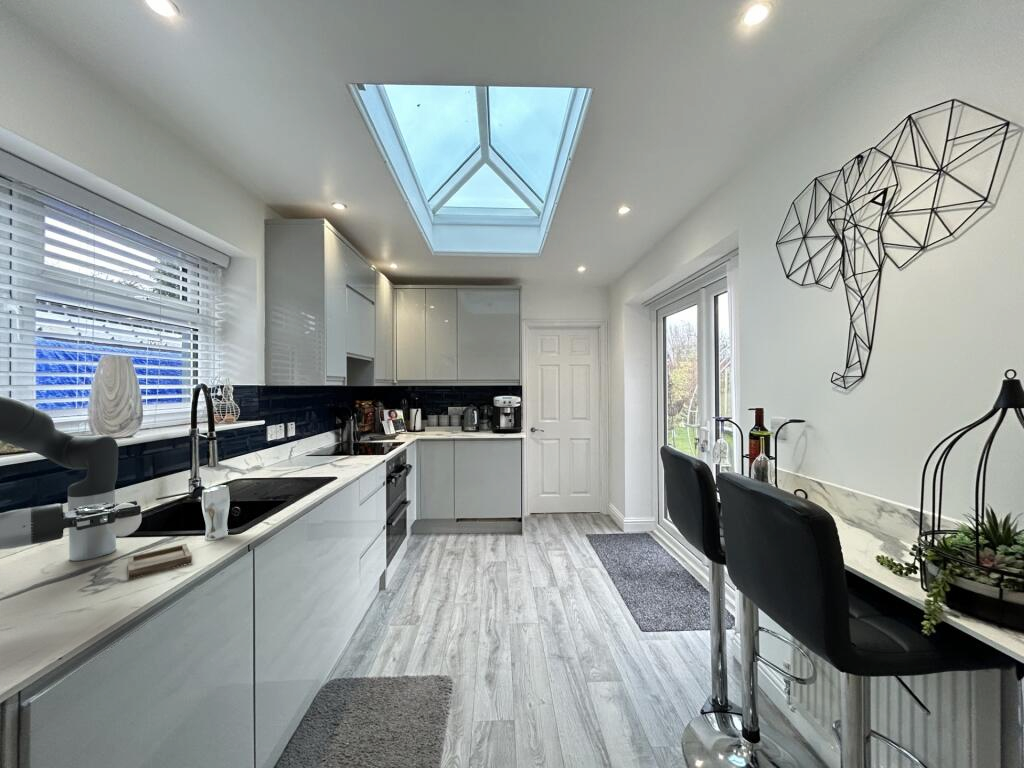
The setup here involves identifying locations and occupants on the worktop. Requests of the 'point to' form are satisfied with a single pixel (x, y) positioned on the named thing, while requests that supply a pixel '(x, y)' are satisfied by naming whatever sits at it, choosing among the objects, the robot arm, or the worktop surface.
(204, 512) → the beer glass
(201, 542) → the worktop surface
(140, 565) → the walnut tray
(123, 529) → the egg
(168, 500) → the worktop surface
